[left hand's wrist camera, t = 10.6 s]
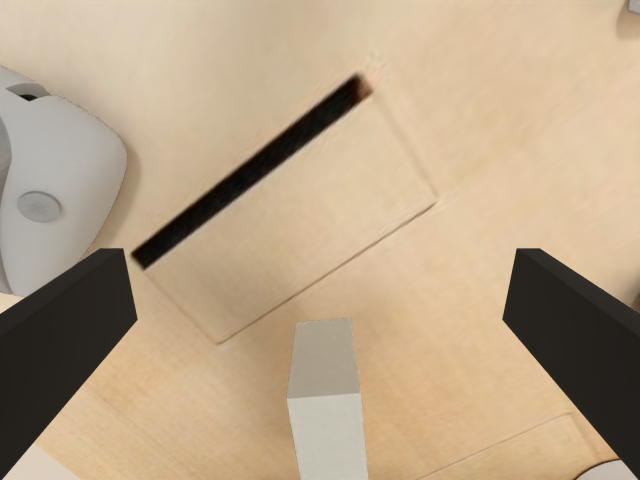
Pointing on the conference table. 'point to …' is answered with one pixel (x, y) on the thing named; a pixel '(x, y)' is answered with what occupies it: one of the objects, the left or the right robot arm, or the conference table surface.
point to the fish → (634, 6)
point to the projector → (50, 182)
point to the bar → (326, 402)
